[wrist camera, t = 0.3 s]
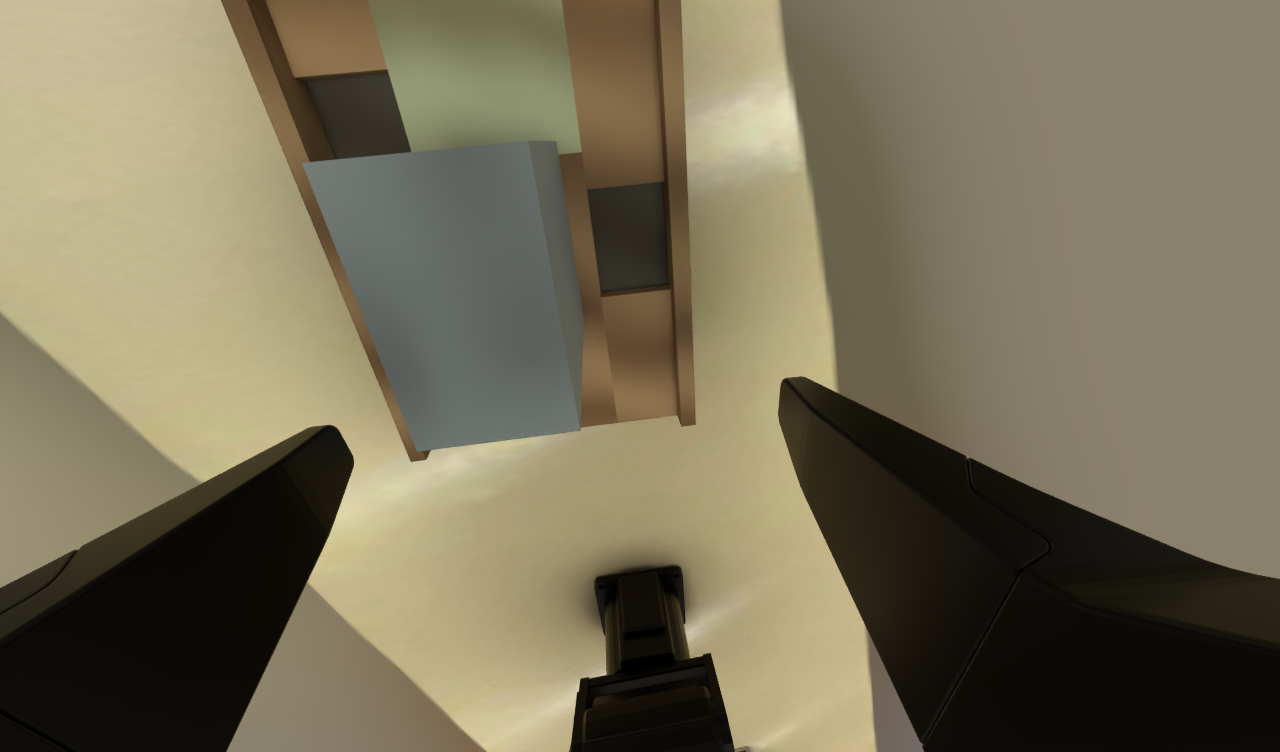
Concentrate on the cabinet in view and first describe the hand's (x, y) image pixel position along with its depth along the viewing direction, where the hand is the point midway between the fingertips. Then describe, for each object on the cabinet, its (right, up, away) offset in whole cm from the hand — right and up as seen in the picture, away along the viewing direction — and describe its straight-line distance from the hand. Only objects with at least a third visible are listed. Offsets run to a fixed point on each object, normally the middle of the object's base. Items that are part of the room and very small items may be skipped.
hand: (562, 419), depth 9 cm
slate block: (-4, +7, +12) cm, 14 cm away
